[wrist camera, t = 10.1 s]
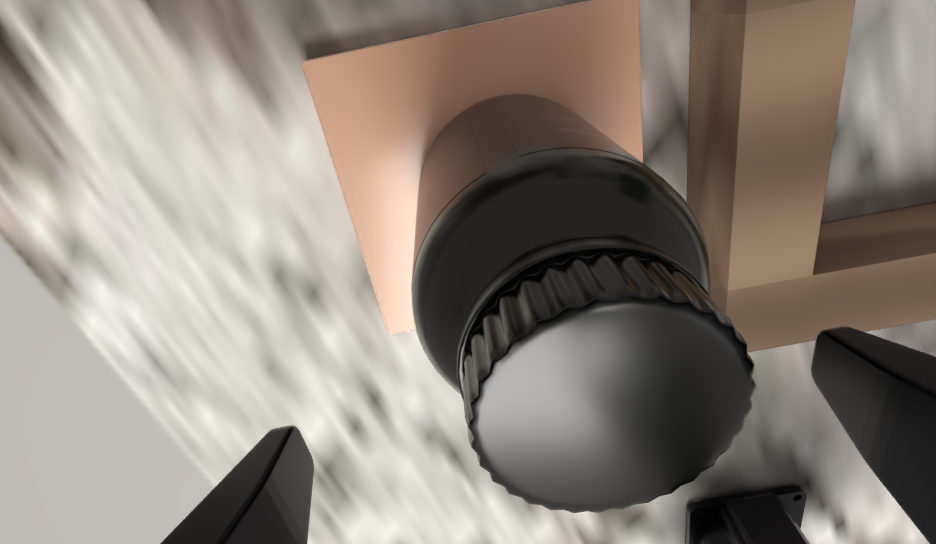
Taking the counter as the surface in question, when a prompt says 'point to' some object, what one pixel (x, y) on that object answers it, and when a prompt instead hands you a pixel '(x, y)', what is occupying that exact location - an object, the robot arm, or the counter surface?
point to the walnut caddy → (790, 180)
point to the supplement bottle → (572, 310)
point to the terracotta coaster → (449, 93)
